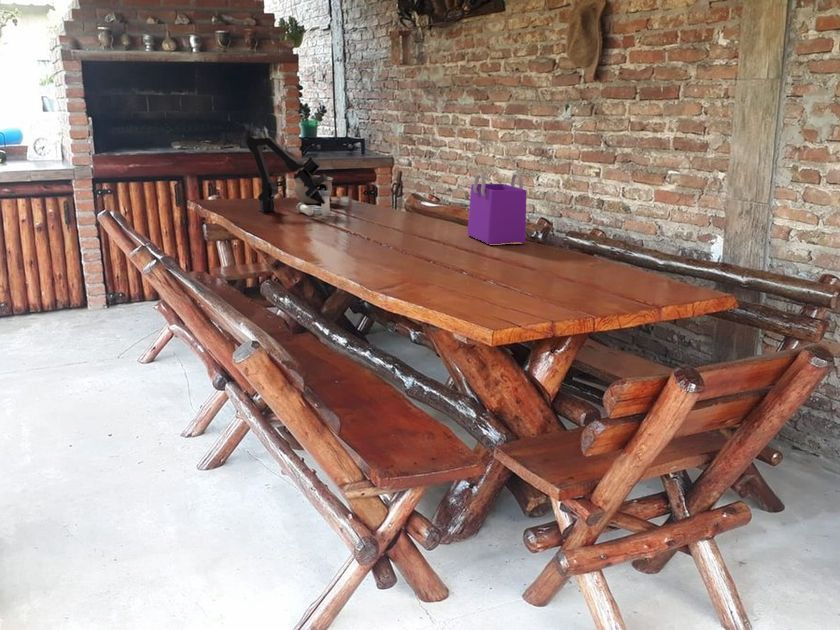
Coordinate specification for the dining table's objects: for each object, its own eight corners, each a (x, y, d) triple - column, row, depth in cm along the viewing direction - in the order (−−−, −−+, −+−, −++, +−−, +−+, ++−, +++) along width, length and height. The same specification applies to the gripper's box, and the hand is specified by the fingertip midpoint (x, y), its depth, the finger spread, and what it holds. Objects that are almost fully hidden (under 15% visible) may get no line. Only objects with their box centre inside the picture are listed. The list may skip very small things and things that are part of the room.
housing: (330, 213, 433) (330, 208, 433) (315, 214, 428) (315, 209, 427) (313, 209, 445) (313, 205, 445) (299, 210, 440) (299, 206, 439)
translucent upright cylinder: (324, 216, 422) (324, 192, 419) (318, 215, 426) (318, 191, 422) (332, 215, 425) (332, 191, 422) (327, 214, 429) (326, 190, 426)
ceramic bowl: (319, 200, 485) (319, 174, 481) (340, 204, 468) (340, 178, 465) (286, 202, 471) (286, 176, 467) (307, 207, 455) (306, 179, 451)
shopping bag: (457, 237, 372) (460, 170, 364) (497, 234, 383) (500, 169, 375) (493, 247, 349) (497, 176, 341) (534, 244, 359) (539, 175, 352)
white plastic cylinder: (304, 216, 422) (314, 216, 425) (305, 206, 421) (315, 206, 423) (296, 212, 432) (305, 212, 435) (296, 202, 431) (306, 202, 434)
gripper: (310, 170, 412) (331, 193, 412) (324, 167, 429) (344, 190, 429) (296, 185, 416) (316, 208, 416) (310, 182, 433) (330, 204, 433)
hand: (327, 202), depth 423 cm, fingers open, 9 cm apart
